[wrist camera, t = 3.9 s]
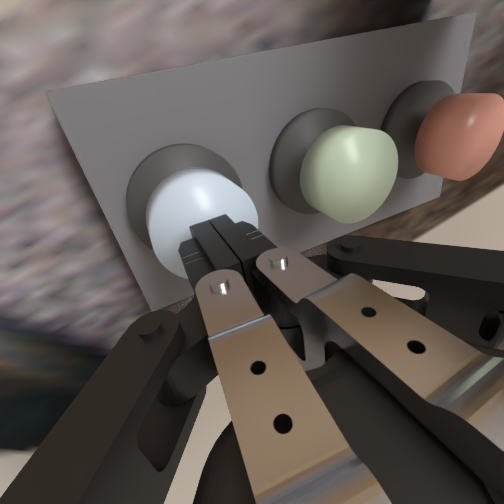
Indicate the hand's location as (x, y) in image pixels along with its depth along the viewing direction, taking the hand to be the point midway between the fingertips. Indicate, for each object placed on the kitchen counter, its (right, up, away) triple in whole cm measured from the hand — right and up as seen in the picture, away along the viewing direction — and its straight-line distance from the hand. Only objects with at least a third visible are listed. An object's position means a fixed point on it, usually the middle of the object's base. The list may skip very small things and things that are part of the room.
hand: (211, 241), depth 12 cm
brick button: (+13, +7, +6) cm, 16 cm away
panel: (+5, +6, +8) cm, 11 cm away
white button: (-1, +1, +2) cm, 3 cm away
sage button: (+6, +4, +4) cm, 9 cm away
